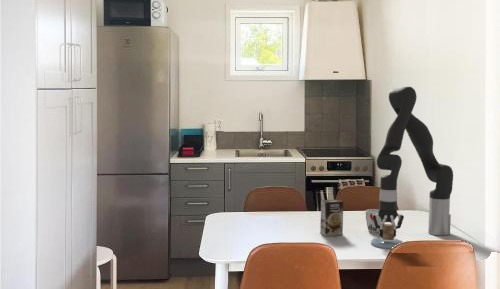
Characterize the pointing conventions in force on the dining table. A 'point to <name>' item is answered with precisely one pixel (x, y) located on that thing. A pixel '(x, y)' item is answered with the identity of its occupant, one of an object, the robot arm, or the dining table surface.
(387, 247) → the dish
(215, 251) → the dining table surface
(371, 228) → the cup
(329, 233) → the coffee box
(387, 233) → the block
